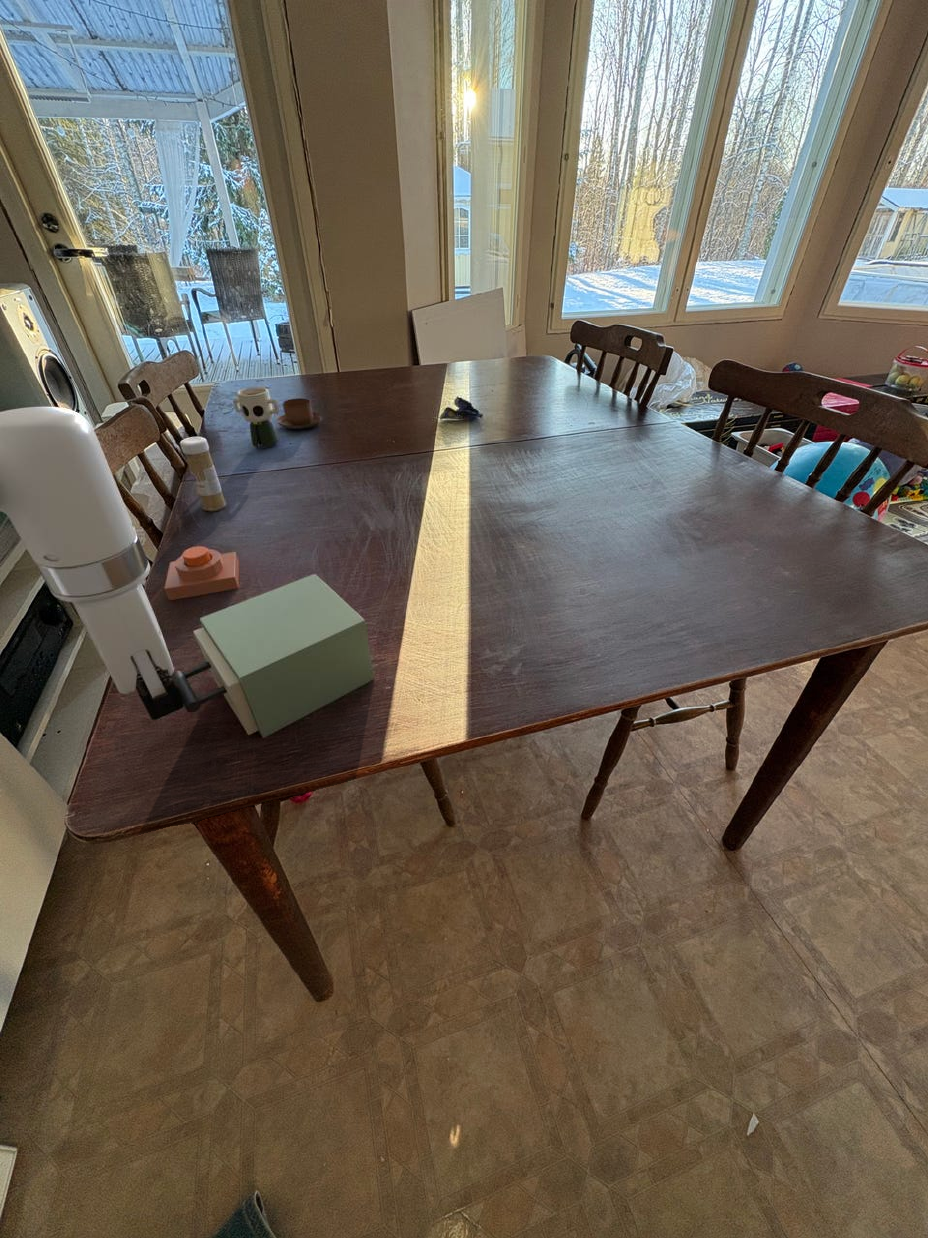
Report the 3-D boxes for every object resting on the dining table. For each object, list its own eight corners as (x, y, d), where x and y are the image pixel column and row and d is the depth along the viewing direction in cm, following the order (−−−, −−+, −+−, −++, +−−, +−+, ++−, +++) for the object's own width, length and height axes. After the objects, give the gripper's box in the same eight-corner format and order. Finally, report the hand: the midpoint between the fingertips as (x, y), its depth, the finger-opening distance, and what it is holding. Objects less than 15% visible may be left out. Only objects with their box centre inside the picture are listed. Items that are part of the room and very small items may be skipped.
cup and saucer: (283, 419, 146) (278, 396, 142) (326, 418, 146) (322, 395, 142) (274, 433, 136) (268, 409, 133) (319, 432, 137) (315, 408, 133)
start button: (185, 569, 78) (181, 559, 77) (187, 557, 81) (183, 548, 80) (210, 565, 79) (206, 555, 78) (211, 554, 82) (208, 544, 80)
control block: (169, 600, 78) (159, 579, 75) (174, 573, 84) (165, 552, 81) (238, 588, 80) (231, 567, 78) (239, 562, 86) (232, 541, 84)
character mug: (239, 449, 127) (223, 394, 119) (251, 439, 133) (236, 386, 124) (281, 451, 126) (269, 395, 118) (291, 440, 132) (280, 387, 124)
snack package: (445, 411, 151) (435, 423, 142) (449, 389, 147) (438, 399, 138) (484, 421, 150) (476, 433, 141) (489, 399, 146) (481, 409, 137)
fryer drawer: (210, 755, 55) (185, 706, 50) (178, 695, 61) (153, 646, 57) (355, 680, 63) (346, 631, 58) (313, 634, 70) (301, 587, 65)
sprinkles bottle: (197, 509, 102) (173, 441, 93) (216, 500, 105) (194, 434, 97) (214, 513, 100) (190, 445, 92) (232, 504, 103) (211, 438, 95)
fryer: (263, 738, 57) (239, 678, 51) (223, 677, 65) (199, 618, 59) (374, 679, 65) (365, 620, 59) (327, 630, 72) (314, 573, 66)
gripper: (32, 542, 46) (112, 686, 58) (57, 622, 37) (146, 774, 49) (124, 519, 50) (182, 658, 61) (167, 587, 41) (226, 735, 52)
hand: (166, 709), depth 55 cm, fingers closed
